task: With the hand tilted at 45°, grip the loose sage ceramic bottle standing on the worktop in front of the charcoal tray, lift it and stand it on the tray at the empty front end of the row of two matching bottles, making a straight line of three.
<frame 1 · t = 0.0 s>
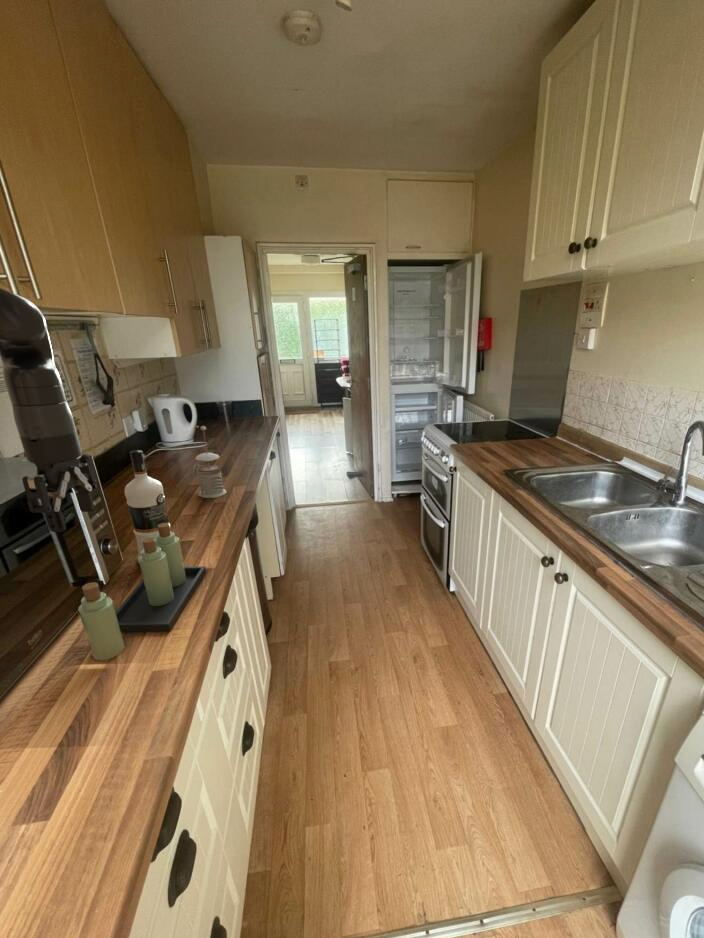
hand: (74, 520, 76), 25 cm above the table, tool pointing down, fingers open, 8 cm apart
bottle loose: (109, 652, 81), on the table
french press: (210, 494, 158), on the table
vodka: (159, 562, 112), on the table
tray: (162, 601, 96), on the table
bottle back: (174, 581, 103), point 1 cm above the table, touching tray
bottle mid: (161, 599, 96), point 1 cm above the table, touching tray
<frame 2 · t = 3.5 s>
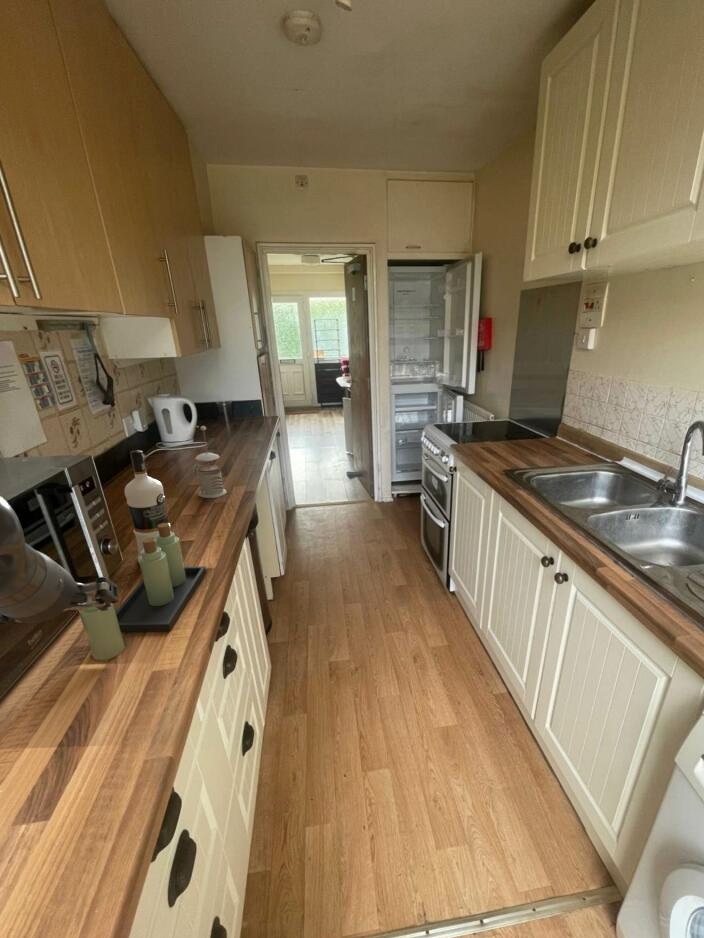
hand: (72, 610, 65), 18 cm above the table, tool tilted 45°, fingers open, 8 cm apart
nothing on the table moved.
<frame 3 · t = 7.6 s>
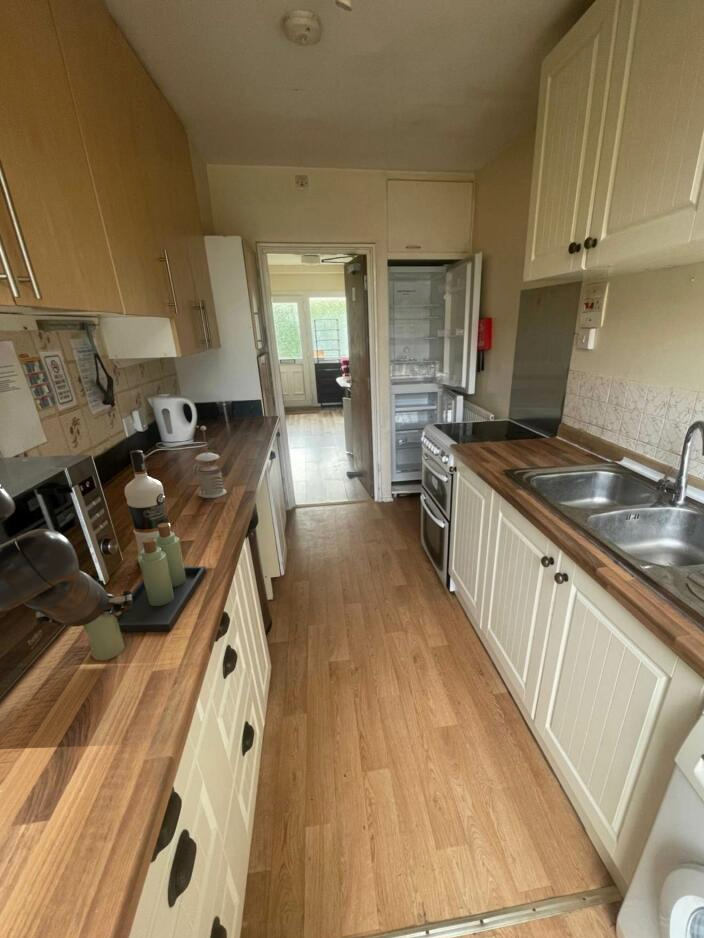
hand: (101, 616, 80), 7 cm above the table, tool tilted 45°, fingers closed on bottle loose, 5 cm apart
bottle loose: (109, 652, 81), on the table, touching gripper
everything else where it was.
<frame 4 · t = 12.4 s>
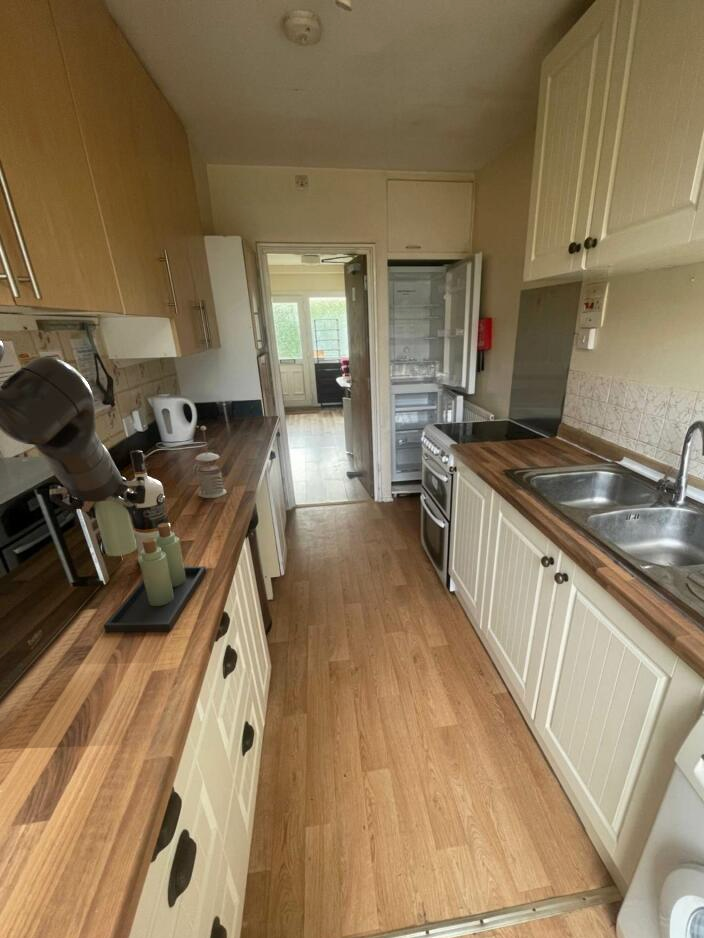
hand: (114, 511, 79), 26 cm above the table, tool tilted 45°, fingers closed on bottle loose, 5 cm apart
bottle loose: (121, 549, 81), point 18 cm above the table, touching gripper
everything else where it was.
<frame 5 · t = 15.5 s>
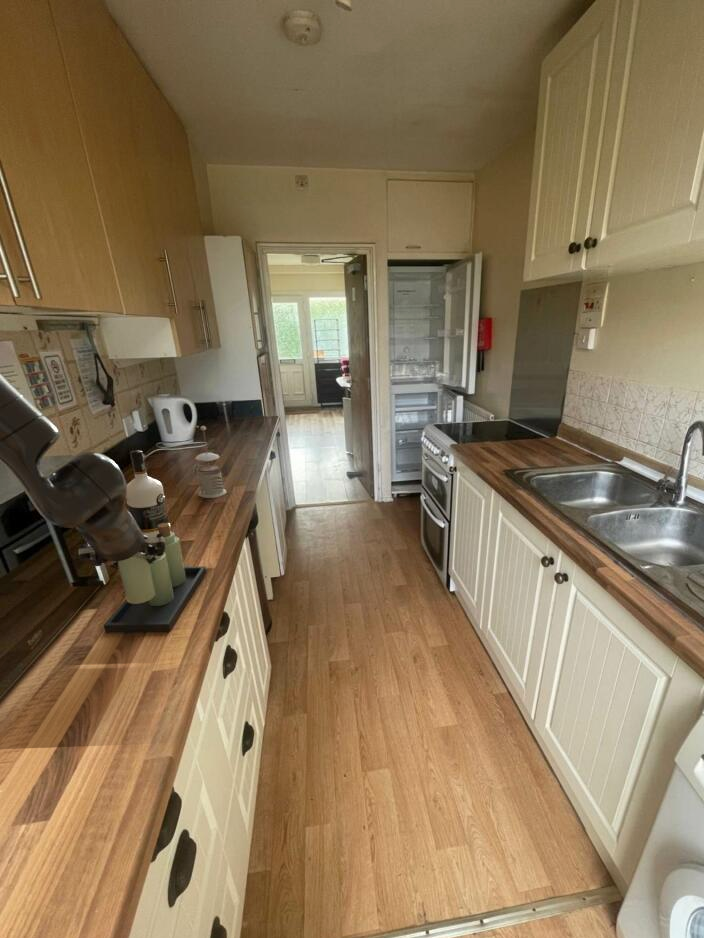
hand: (134, 561, 86), 14 cm above the table, tool tilted 45°, fingers closed on bottle loose, 5 cm apart
bottle loose: (141, 596, 87), point 7 cm above the table, touching gripper
everything else where it was.
when the fingers open (8 cm above the table, at t = 17.7 s): bottle loose stays where it is, resting on tray.
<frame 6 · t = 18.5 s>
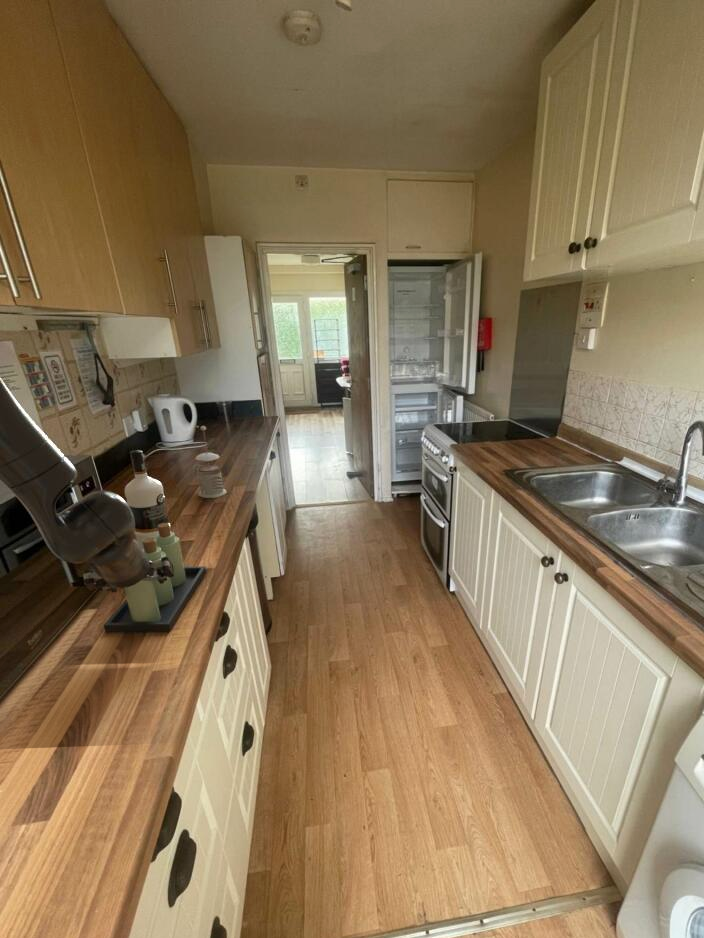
hand: (138, 583, 87), 9 cm above the table, tool tilted 45°, fingers open, 8 cm apart
bottle loose: (147, 620, 89), point 1 cm above the table, touching tray
everything else where it was.
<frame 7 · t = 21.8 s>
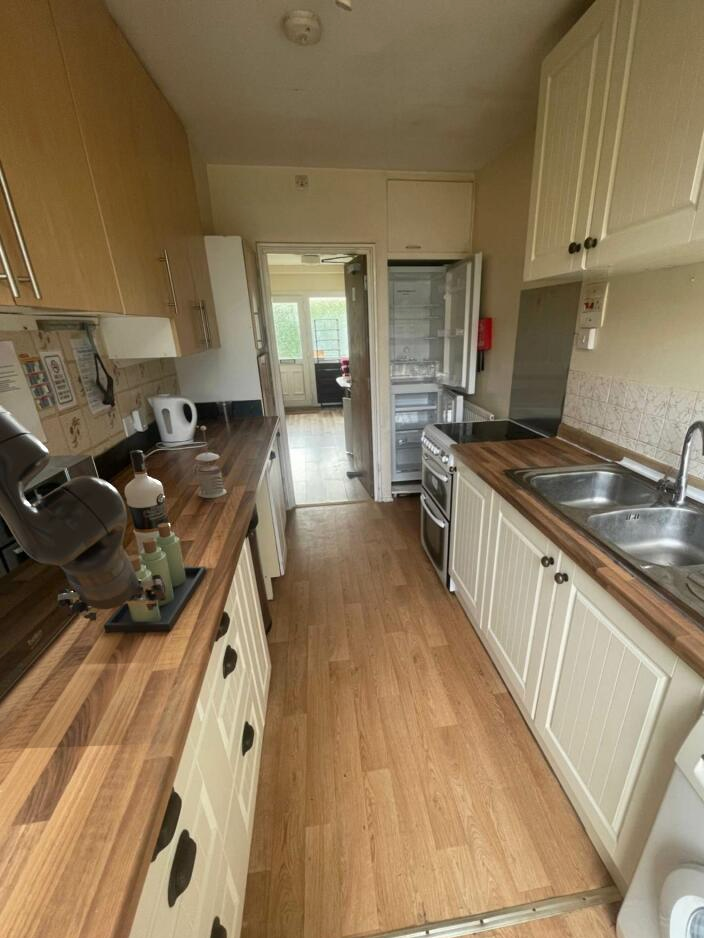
hand: (122, 609, 74), 12 cm above the table, tool tilted 40°, fingers open, 8 cm apart
nothing on the table moved.
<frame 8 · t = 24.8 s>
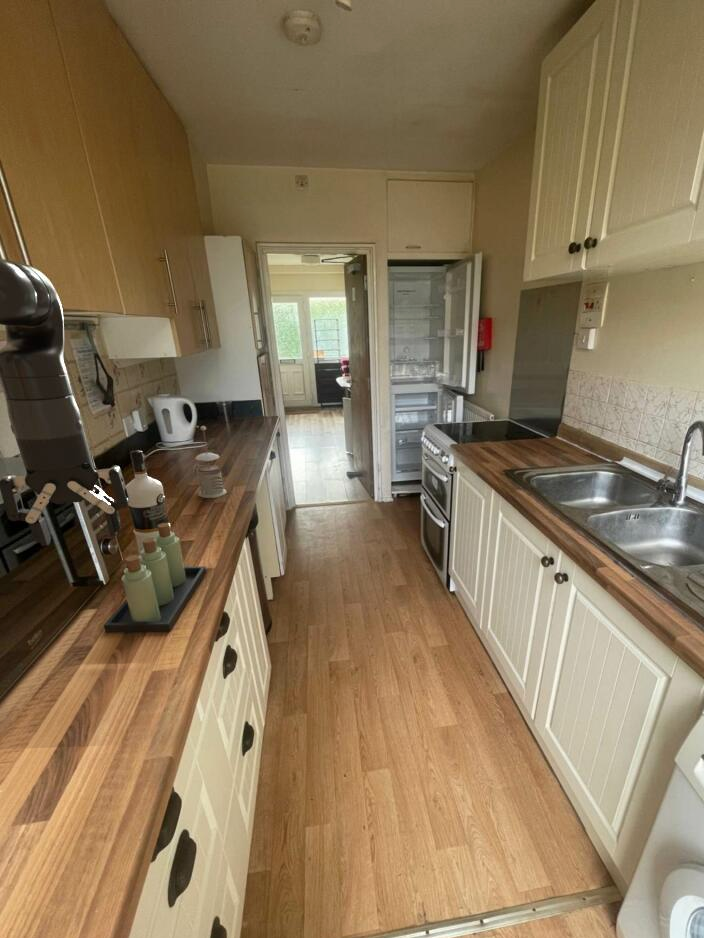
hand: (81, 538, 63), 28 cm above the table, tool pointing down, fingers open, 8 cm apart
nothing on the table moved.
at the end: bottle loose 0.2 cm from the target spot, point 0.6 cm above the table; bottle loose tilted 0°; bottle mid moved 0.0 cm from its start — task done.
